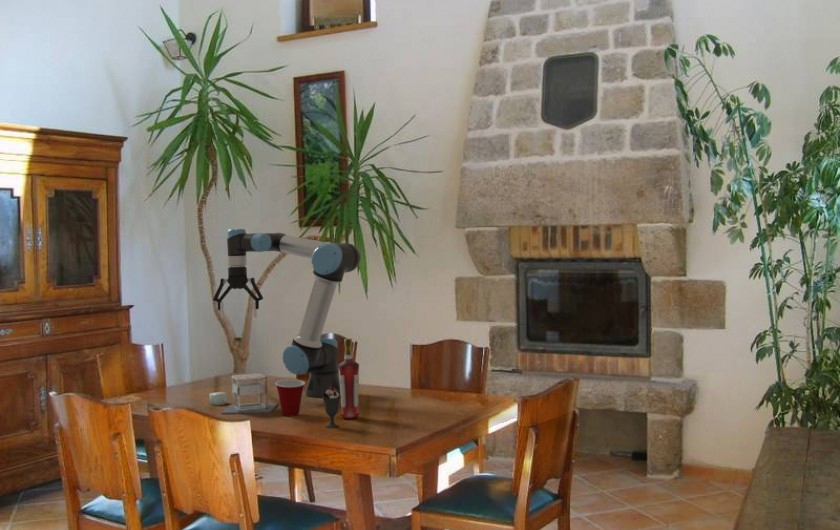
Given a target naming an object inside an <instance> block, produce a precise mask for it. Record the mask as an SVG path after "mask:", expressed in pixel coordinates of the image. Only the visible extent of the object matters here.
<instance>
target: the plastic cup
mask: <svg viewBox="0 0 840 530" xmlns="http://www.w3.org/2000/svg"><path fill="white" fill-rule="evenodd" d="M274 385H276V390H277V393H278V397H279V404H280V409H281V414H282V415H283V416H285V417H292V416H293V417H294V416H298V415H299V413H300V408H301V403H302V397H303V395H302V394H303V392H304V391H303V389H304V386H305V385H306V382H305V381H304V380H300V379H282V380H278V381H275V382H274Z"/></svg>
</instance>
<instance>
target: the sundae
mask: <svg viewBox="0 0 840 530" xmlns="http://www.w3.org/2000/svg"><path fill="white" fill-rule="evenodd" d="M335 383H336V382H334V384H333V385H334V386H335ZM333 385H332V386H333ZM336 390H337V389H336V388H332V387H330V388H329V389H328V390H327V391H326V393H325V392H324V393H323V394H322V395H323V397H321V399H323V403H324V409H325V413H326V415H327V416H329V418H330V422H329V424H328V425H327V424H326V425H325V426H324V427H325V428H326V429H338V428H340V425H338V424H336V423H335V416H336V415H337V414H338V413H339V405H340V400H341V396H340V395H339V393H338V392H337V391H336ZM337 427H338V428H337Z"/></svg>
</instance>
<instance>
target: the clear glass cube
mask: <svg viewBox="0 0 840 530" xmlns="http://www.w3.org/2000/svg"><path fill="white" fill-rule="evenodd" d="M235 380H236V382H235ZM252 380H253V381H252ZM256 380H257V381H256ZM262 380H263V381H262ZM241 381H243V382H241ZM231 392H232V393H231V397H232V401H231V402H232V403H231V404H232V405H233V408H235V409H236V410H237V411H238V412H241V411H251V410H262V409H268V404H269V403H268V377H267V375H264V374H263V373H261V372H259V373H258V372H257V373H255V372H254V373H247V374H246V373H244V374H243V373H242V374H232V375H231ZM263 394H264V403H263V402H262V399H263V398H262V396H263ZM247 395H258V402H254V403H241V396H247ZM236 396H237V404H238V405H235V404H236ZM240 404H241V405H240ZM264 404H265V405H264ZM251 405H261V406H262V408H251V409H241V410H240V406H251Z"/></svg>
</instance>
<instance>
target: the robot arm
mask: <svg viewBox="0 0 840 530" xmlns="http://www.w3.org/2000/svg"><path fill="white" fill-rule="evenodd" d="M226 236H227V237H226V245H227V266H228V268H227V271H228V272H227V273H228V274H227V278H224V277H223V278H220V283H219V285H218V288H217V290H216V292H215V294H214V296H213V299H212V300H213V301H214V302H217V309H218V310H217V311H220V319H224V318H225V315H224V314H225V311H224V310H225V309H224V304H225V303H224V301H223V300H224V299H225V298H226V297H227V295H228V294H229V293H230V291H232V289H233V290H237V289H239V290H242V289H244V290H245V291H246V293H247V294H248V295H249V296H250V297H251V298H252V299H253V300H254V301H253V302H252V304H253V307H252V308H253V318H257V314H258V313H257V310H260V301H262V300H264V297H263V295H262V293H261V290H260V289H259V287H258V284H257V283H256V279H255V277H250V278H248V273H247V272H248V269H247V253H248V252H249V253H252V252H253V253H254V252H255V253H256V252H257V253H263V252H264V253H265V252H279V253H281V254H282V253H283V254H287V255H293V256H298V257H303V258H307V259H311V265H312V269H313V272H312V275H314V278H315V279H314V283H313V285H312V288H311V291H310V295H309V298H308V302H307V305H306V309H305V313H304V315H303V318H302V322H301V326H300V329H299V332H298V333H297V334H295V335H293V337H292V338H293V339H292V340H291V341H292V342H291V344H290V345H288V346H287V347H286V348H285V349H284V350H283V352H282V362H283V364H284V367H285V368H286V370H287V371H288V372H289V373H291V374H293V375H305V374H307V373H309V377H308V380H307V384H306V386H305V395H306V396H307V397H313V398H322V397H323V395H322V394H323V393H324V392H325V393H326V391H327V390H328V389H329V388H330V387H332V388H336V389H337V390H336V391H337V392H338V393H339V396H340V383H339V369H338V365H339V360H338V357H339V356H338V351H339V350H338V349H339V348H338V342H337V340H336V339H335V338H326V337H325V338H322V334H323V331H324V327H325V324H326V320H327V317H328V314H329V312H330V307H331V304H332V301H333V298H334V296H335V295H334V294H335V291H336V288H337V286H338V284H340V283H342V281H343V279H344V275H345V273H350V272H353V271H355V270H356V269H357V268H358V267H359V265H360V263H361V257H362V256H361V252H360V250H359V249H358V247H357V246H356V245H354V244H352V243H349V242H337V241H336V242H335V243H334V242H329V243H328V242H325V241H319V240H313V239H310V238H304V237H300V236H299V237H298V236H293V235H289V234H286V233H285V232H284V233H282V232H271V233H270V232H266V233H265V232H264V233H263V232H256V233H254V232H253V233H247V232H246V229H244V228H229V229H228V230H227V232H226ZM248 282H249V283H250V284H251V286H252V288H253V290H254V291H255V293H256V294H255V293H254V292H253V291H252V289H251V288H249V286H248V284H247V283H248ZM226 283H228V286H227V288H226V289H225V291H224V292H223V293H222V290H223V288H224V286H225V284H226ZM221 293H222V294H221ZM220 294H221V295H220ZM219 296H220V297H219ZM334 382H336V383H335V386H334V385H333V384H334ZM332 385H333V386H332Z"/></svg>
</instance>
